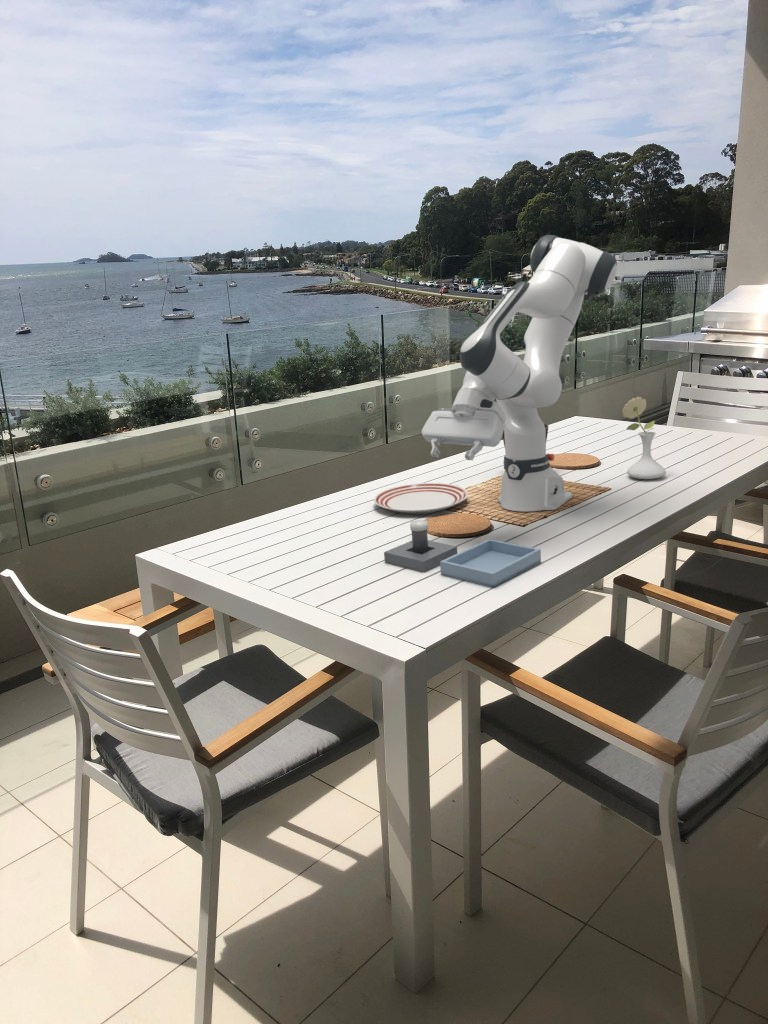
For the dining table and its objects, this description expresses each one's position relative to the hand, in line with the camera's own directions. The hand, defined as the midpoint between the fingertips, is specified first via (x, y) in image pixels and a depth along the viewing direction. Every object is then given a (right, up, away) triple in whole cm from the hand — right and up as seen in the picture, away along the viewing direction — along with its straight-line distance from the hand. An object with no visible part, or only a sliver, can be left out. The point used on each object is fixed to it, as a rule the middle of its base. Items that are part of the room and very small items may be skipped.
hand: (450, 457), depth 178 cm
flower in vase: (+64, -3, +55) cm, 84 cm away
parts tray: (+8, -25, -11) cm, 29 cm away
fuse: (-7, -24, -2) cm, 25 cm away
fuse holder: (-7, -24, -2) cm, 25 cm away
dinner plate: (-5, -11, +43) cm, 45 cm away
